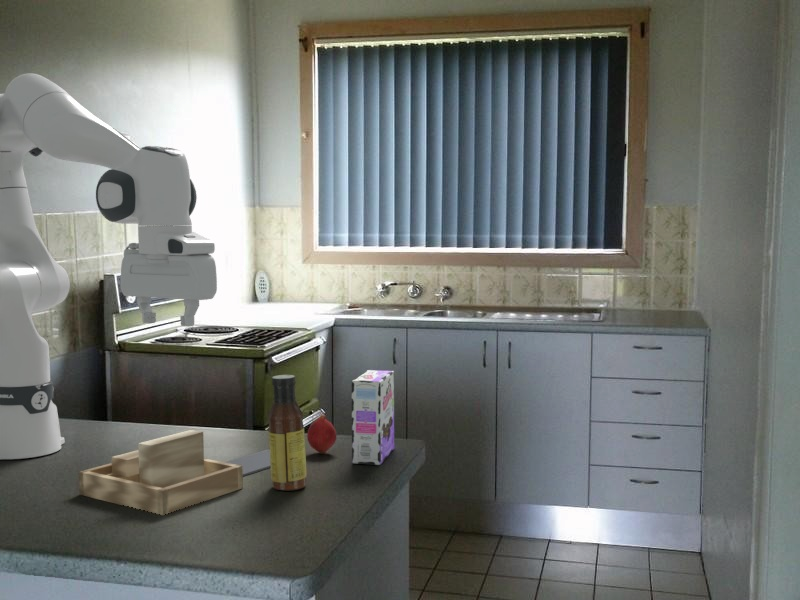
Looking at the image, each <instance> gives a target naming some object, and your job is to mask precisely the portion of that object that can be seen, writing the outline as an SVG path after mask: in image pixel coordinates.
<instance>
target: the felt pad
mask: <svg viewBox="0 0 800 600" xmlns="http://www.w3.org/2000/svg"><path fill="white" fill-rule="evenodd" d="M224 462H225V463H230V464H236V465H241V466H242V467H243V477H246V476H249V475H252V474H254V473H257V472H260V471H261V472H262V471H264V470H268V469H271V465H270V448H269V449H268V448H267V449H263V450H261V451H258V452H253V453H251V454H248V455H244V456H241V457H237V458H234V459H231V460H228V461H224Z"/></svg>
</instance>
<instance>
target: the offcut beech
mask: <svg viewBox="0 0 800 600" xmlns="http://www.w3.org/2000/svg"><path fill="white" fill-rule="evenodd" d="M111 463H112V474H116V475H121V476H126V477H129V476H133V475H136V474H139V452H138V449H135V450H134V451H128V452H126V453H122V454H118V455H114V456H111Z"/></svg>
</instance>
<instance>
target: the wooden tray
mask: <svg viewBox="0 0 800 600" xmlns="http://www.w3.org/2000/svg"><path fill="white" fill-rule="evenodd" d="M225 462H226V461H220V460H214V459H209V458H205V457H204V475H203V476H200V477H197V478H194V479H190V480H187V481H184V482H181V483H178V484H174V485H171V486H168V487H165V488H160V487H156V486H152V485H147V484H143V483H138V482H134V481H130V480H125V479H121V478H116V477H112V476H108V474H111V473H112V462H110V463H107V464H103V465H100V466H99V465H98V466H95V467H92V468H88V469H84V470H81V471H78V485H79V486H78V487H79V488H78V491H79V496H85V497H87V498H92V499H95V500H100V501H104V502H108V503H111V504H112V503H113V504H114V505H115V504H116V505H120V506H123V505H124V507H127V506H129V507H128V508H131V507H133V508H132V509H135V508H136V510H139V509H141V510H140V511H143V510H145V511H144V512H147V511H148V513H151V512H152V513H151V514H155V513H156V515H159V514H160V515H159V516H166V515H168V513H169V514H171V512H172V513H174V511H175V512H177V511H180V510H183V509H186V508H189V507H192V506H195V505H198V504H201V503H203V501H204V502H206V501H209V500H212V499H216V498H218V497H220V496H223V495H224V496H225V495H226V494H227V495H228V494H229V493H232V492H236V491H238V490H241V489H244V479H243V477H244V476H243V467H242V466H241V465H236V464H230V463H225ZM200 502H201V503H200ZM194 504H195V505H194ZM191 505H192V506H191ZM188 506H189V507H188ZM185 507H186V508H185ZM179 509H180V510H179ZM176 510H177V511H176ZM165 514H166V515H165Z"/></svg>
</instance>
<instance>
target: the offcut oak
mask: <svg viewBox="0 0 800 600" xmlns="http://www.w3.org/2000/svg"><path fill="white" fill-rule="evenodd" d="M108 476H112V477H116V478H121V479H125V480H130V481H134V482H138V483H139V474H136V475H133V476H129V477H126V476H121V475H116V474H112V473H111V474H108Z"/></svg>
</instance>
